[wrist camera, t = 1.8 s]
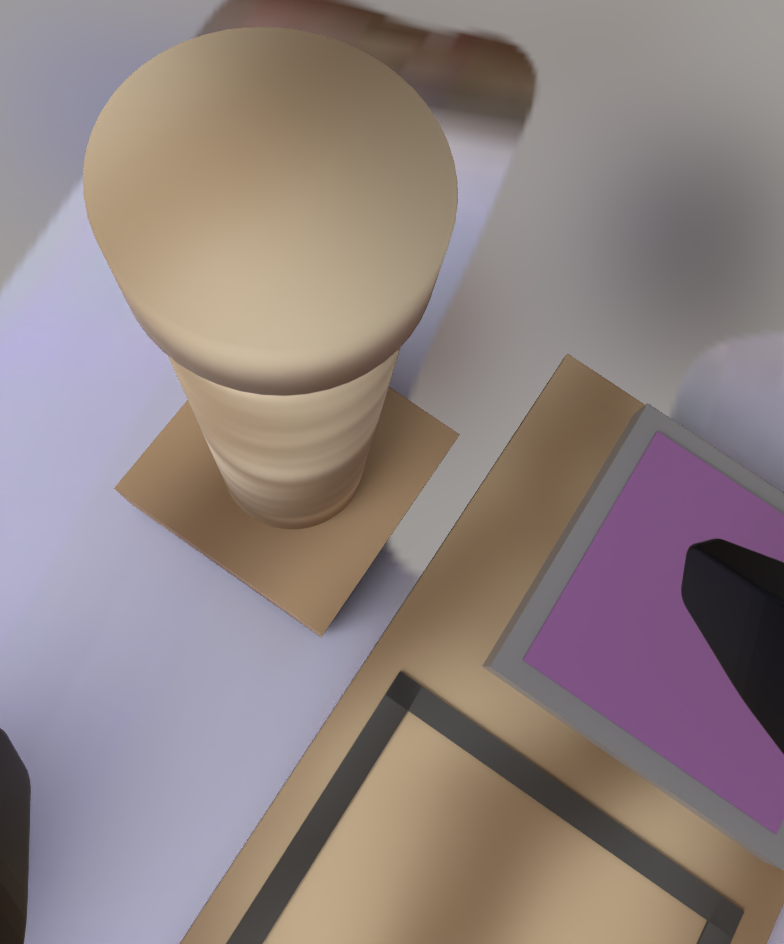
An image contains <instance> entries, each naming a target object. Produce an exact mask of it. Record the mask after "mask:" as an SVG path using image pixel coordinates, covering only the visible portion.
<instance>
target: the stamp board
mask: <svg viewBox="0 0 784 944" xmlns="http://www.w3.org/2000/svg"><path fill="white" fill-rule="evenodd" d="M644 406H645V405H644V404H643V403H641V402H640V401H638V400H637V399H635V398H634V397H632V396H631V395H629V394H628V393H626V392H625V391H623V390H622V389H620V388H619V387H617V386H616V385H614V384H613V383H611V382H610V381H608V380H607V379H605V378H604V377H602V376H601V375H599V374H598V373H596V372H595V371H593V370H591V369H590V368H589V367H587V366H585V365H584V364H582V363H581V362H579V361H578V360H576V359H575V358H573V357H572V356H570V355H569V354H567V355H566V356H565V358H564V359H563V360H562V362H561V363H560V365H559V367H558V368H557V370H556V371H555V372H554V374H553V376H552V377H551V379H550V380H549V382H548V383H547V385H546V386H545V388H544V389H543V391H542V393H541V394H540V395H539V397H538V398H537V400H536V401H535V403H534V404H533V406H532V408H531V409H530V411H529V412H528V414H527V415H526V417H525V418H524V420H523V421H522V423H521V424H520V426H519V427H518V429H517V430H516V432H515V433H514V435H513V436H512V438H511V440H510V441H509V443H508V444H507V446H506V447H505V449H504V450H503V452H502V453H501V455H500V456H499V458H498V460H497V461H496V462H495V464H494V465H493V467H492V468H491V470H490V472H489V473H488V475H487V476H486V478H485V479H484V481H483V482H482V484H481V485H480V487H479V488H478V490H477V491H476V493H475V494H474V496H473V497H472V499H471V501H470V502H469V504H468V505H467V507H466V508H465V510H464V511H463V513H462V514H461V516H460V517H459V519H458V520H457V522H456V523H455V525H454V526H453V528H452V529H451V531H450V532H449V534H448V536H447V537H446V539H445V540H444V542H443V543H442V545H441V546H440V548H439V549H438V551H437V552H436V554H435V556H434V557H433V558H432V560H431V561H430V563H429V565H428V566H427V568H426V569H425V571H424V572H423V574H422V575H421V577H420V578H419V580H418V581H417V583H416V584H415V586H414V587H413V589H412V590H411V592H410V593H409V595H408V596H407V598H406V599H405V601H404V603H403V604H402V606H401V607H400V609H399V610H398V612H397V613H396V615H395V616H394V618H393V619H392V621H391V622H390V624H389V625H388V627H387V628H386V630H385V631H384V633H383V635H382V636H381V638H380V639H379V641H378V642H377V644H376V645H375V647H374V648H373V650H372V651H371V653H370V654H369V656H368V657H367V659H366V660H365V662H364V663H363V665H362V667H361V668H360V670H359V671H358V673H357V674H356V676H355V677H354V679H353V680H352V682H351V683H350V685H349V686H348V688H347V689H346V691H345V692H344V694H343V695H342V697H341V699H340V700H339V702H338V703H337V705H336V706H335V708H334V709H333V711H332V712H331V714H330V715H329V717H328V718H327V720H326V721H325V723H324V724H323V726H322V727H321V729H320V731H319V732H318V734H317V735H316V737H315V738H314V740H313V741H312V743H311V744H310V746H309V747H308V749H307V750H306V752H305V753H304V755H303V756H302V758H301V759H300V761H299V763H298V764H297V766H296V767H295V769H294V770H293V772H292V773H291V775H290V776H289V778H288V779H287V781H286V782H285V784H284V785H283V787H282V788H281V790H280V791H279V793H278V794H277V796H276V798H275V799H274V801H273V802H272V804H271V805H270V807H269V808H268V810H267V811H266V813H265V814H264V816H263V817H262V819H261V820H260V822H259V823H258V825H257V826H256V828H255V830H254V831H253V833H252V834H251V836H250V837H249V839H248V840H247V842H246V843H245V845H244V846H243V848H242V849H241V851H240V852H239V854H238V855H237V857H236V858H235V860H234V862H233V863H232V865H231V866H230V868H229V869H228V871H227V872H226V874H225V875H224V877H223V878H222V880H221V881H220V883H219V884H218V886H217V887H216V889H215V890H214V892H213V894H212V895H211V897H210V898H209V900H208V901H207V903H206V904H205V906H204V907H203V909H202V910H201V912H200V913H199V915H198V916H197V918H196V919H195V921H194V922H193V924H192V926H191V927H190V929H189V930H188V932H187V933H186V935H185V936H184V938H183V939H182V941H181V942H180V944H766V943H767V941H768V939H769V936H770V934H771V932H772V929H773V927H774V925H775V922H776V920H777V917H778V915H779V913H780V910H781V908H782V906H783V903H784V871H783V870H781V869H779V868H777V867H774V866H772V865H770V864H767V863H765V862H763V861H762V860H760V859H759V858H757V857H756V856H754V855H753V854H752V853H750V852H749V851H747V850H746V849H744V848H743V847H741V846H740V845H739V844H737V843H736V842H734V841H733V840H731V839H730V838H729V837H727V836H726V835H724V834H723V833H721V832H720V831H718V830H717V829H716V828H714V827H713V826H711V825H710V824H708V823H707V822H705V821H704V820H703V819H701V818H700V817H698V816H697V815H695V814H694V813H692V812H691V811H690V810H688V809H687V808H685V807H684V806H682V805H681V804H679V803H678V802H677V801H675V800H674V799H672V798H671V797H669V796H668V795H667V794H665V793H664V792H662V791H661V790H659V789H658V788H656V787H655V786H654V785H652V784H651V783H649V782H648V781H646V780H645V779H643V778H642V777H641V776H639V775H638V774H636V773H635V772H633V771H632V770H630V769H629V768H628V767H626V766H625V765H623V764H622V763H620V762H619V761H617V760H616V759H615V758H613V757H612V756H610V755H609V754H607V753H606V752H605V751H603V750H602V749H600V748H599V747H597V746H596V745H594V744H593V743H592V742H590V741H589V740H587V739H586V738H584V737H583V736H581V735H580V734H579V733H577V732H576V731H574V730H573V729H571V728H570V727H568V726H567V725H566V724H564V723H563V722H561V721H560V720H558V719H557V718H555V717H554V716H553V715H551V714H550V713H548V712H547V711H545V710H544V709H542V708H541V707H540V706H538V705H537V704H535V703H534V702H532V701H531V700H530V699H528V698H527V697H525V696H524V695H522V694H521V693H519V692H518V691H517V690H515V689H514V688H512V687H511V686H509V685H508V684H506V683H505V682H504V681H502V680H501V679H499V678H498V677H496V676H495V675H493V674H492V673H491V672H489V671H488V670H486V669H485V668H483V667H482V665H483V664H484V662H485V660H486V659H487V657H488V656H489V654H490V652H491V651H492V649H493V647H494V646H495V644H496V642H497V641H498V639H499V637H500V636H501V634H502V632H503V631H504V629H505V627H506V626H507V624H508V622H509V621H510V619H511V617H512V616H513V614H514V612H515V611H516V609H517V607H518V606H519V604H520V602H521V601H522V599H523V597H524V596H525V594H526V592H527V591H528V589H529V587H530V586H531V584H532V583H533V581H534V579H535V578H536V576H537V574H538V573H539V571H540V569H541V568H542V566H543V564H544V563H545V561H546V559H547V558H548V556H549V554H550V553H551V551H552V549H553V548H554V546H555V544H556V543H557V541H558V539H559V538H560V536H561V534H562V533H563V531H564V529H565V528H566V526H567V524H568V523H569V521H570V519H571V518H572V516H573V515H574V513H575V511H576V510H577V508H578V506H579V505H580V503H581V501H582V500H583V498H584V496H585V495H586V493H587V491H588V490H589V488H590V486H591V485H592V483H593V481H594V480H595V478H596V476H597V475H598V473H599V471H600V470H601V468H602V466H603V465H604V463H605V461H606V460H607V458H608V456H609V455H610V453H611V451H612V450H613V448H614V447H615V445H616V443H617V442H618V440H619V438H620V437H621V435H622V433H623V432H624V430H625V428H626V427H627V425H628V423H629V422H630V420H631V418H632V417H633V415H634V413H636V412H637V411H638V410H640V409H641V408H642V407H644Z"/></svg>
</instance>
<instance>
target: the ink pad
mask: <svg viewBox="0 0 784 944" xmlns="http://www.w3.org/2000/svg"><path fill="white" fill-rule="evenodd" d="M714 538H719V539H723V540H726V541H729V542H731V543H734V544H737V545H739V546H742V547H745V548H747V549H750V550H753V551H755V552H758V553H761V554H763V555H766V556H769V557H771V558H774V559H777V560H779V561H782V562H784V493H782V492H781V491H779V490H778V489H776V488H775V487H773V486H772V485H770V484H769V483H767V482H766V481H764V480H763V479H761V478H760V477H758V476H757V475H755V474H754V473H752V472H751V471H749V470H748V469H746V468H745V467H743V466H742V465H740V464H739V463H737V462H736V461H734V460H733V459H731V458H730V457H728V456H727V455H725V454H724V453H722V452H721V451H719V450H718V449H716V448H715V447H713V446H712V445H710V444H708V443H707V442H705V441H704V440H702V439H701V438H699V437H698V436H696V435H695V434H693V433H692V432H690V431H689V430H687V429H686V428H684V427H683V426H681V425H680V424H678V423H677V422H675V421H674V420H672V419H671V418H669V417H668V416H666V415H665V414H663V413H662V412H660V411H659V410H657V409H656V408H654V407H652V406H651V405H650V404H646V405H645V406H644V407H642V408H641V409H640V410H638V411H637V412H636V413H634V415H633V417H632V418H631V420H630V422H629V423H628V425H627V427H626V428H625V430H624V432H623V433H622V435H621V437H620V438H619V440H618V442H617V443H616V445H615V447H614V448H613V450H612V451H611V453H610V455H609V456H608V458H607V460H606V461H605V463H604V465H603V466H602V468H601V470H600V471H599V473H598V475H597V476H596V478H595V480H594V481H593V483H592V485H591V486H590V488H589V490H588V491H587V493H586V495H585V496H584V498H583V500H582V501H581V503H580V505H579V506H578V508H577V510H576V511H575V513H574V515H573V516H572V518H571V519H570V521H569V523H568V524H567V526H566V528H565V529H564V531H563V533H562V534H561V536H560V538H559V539H558V541H557V543H556V544H555V546H554V548H553V549H552V551H551V553H550V554H549V556H548V558H547V559H546V561H545V563H544V564H543V566H542V568H541V569H540V571H539V573H538V574H537V576H536V578H535V579H534V581H533V583H532V584H531V586H530V587H529V589H528V591H527V592H526V594H525V596H524V597H523V599H522V601H521V602H520V604H519V606H518V607H517V609H516V611H515V612H514V614H513V616H512V617H511V619H510V621H509V622H508V624H507V626H506V627H505V629H504V631H503V632H502V634H501V636H500V637H499V639H498V641H497V642H496V644H495V646H494V647H493V649H492V651H491V652H490V654H489V656H488V657H487V659H486V660H485V662H484V664H483V665H482V667H483V668H485V669H486V670H488V671H489V672H491V673H492V674H493V675H495V676H496V677H498V678H499V679H501V680H502V681H504V682H505V683H506V684H508V685H509V686H511V687H512V688H514V689H515V690H517V691H518V692H519V693H521V694H522V695H524V696H525V697H527V698H528V699H530V700H531V701H532V702H534V703H535V704H537V705H538V706H540V707H541V708H542V709H544V710H545V711H547V712H548V713H550V714H551V715H553V716H554V717H555V718H557V719H558V720H560V721H561V722H563V723H564V724H566V725H567V726H568V727H570V728H571V729H573V730H574V731H576V732H577V733H579V734H580V735H581V736H583V737H584V738H586V739H587V740H589V741H590V742H592V743H593V744H594V745H596V746H597V747H599V748H600V749H602V750H603V751H605V752H606V753H607V754H609V755H610V756H612V757H613V758H615V759H616V760H617V761H619V762H620V763H622V764H623V765H625V766H626V767H628V768H629V769H630V770H632V771H633V772H635V773H636V774H638V775H639V776H641V777H642V778H643V779H645V780H646V781H648V782H649V783H651V784H652V785H654V786H655V787H656V788H658V789H659V790H661V791H662V792H664V793H665V794H667V795H668V796H669V797H671V798H672V799H674V800H675V801H677V802H678V803H679V804H681V805H682V806H684V807H685V808H687V809H688V810H690V811H691V812H692V813H694V814H695V815H697V816H698V817H700V818H701V819H703V820H704V821H705V822H707V823H708V824H710V825H711V826H713V827H714V828H716V829H717V830H718V831H720V832H721V833H723V834H724V835H726V836H727V837H729V838H730V839H731V840H733V841H734V842H736V843H737V844H739V845H740V846H741V847H743V848H744V849H746V850H747V851H749V852H750V853H752V854H753V855H754V856H756V857H757V858H759V859H760V860H762V861H763V862H765V863H767V864H770V865H772V866H774V867H777V868H779V869H781V870H783V871H784V755H783V753H782V752H781V751H780V749H779V748H778V747H777V745H776V744H775V743H774V741H773V740H772V739H771V737H770V736H769V735H768V733H767V732H766V731H765V729H764V728H763V727H762V725H761V724H760V723H759V721H758V720H757V719H756V717H755V716H754V715H753V713H752V712H751V711H750V709H749V708H748V707H747V705H746V704H745V702H744V701H743V700H742V698H741V697H740V695H739V694H738V692H737V690H736V689H735V687H734V686H733V684H732V683H731V681H730V679H729V678H728V676H727V675H726V673H725V671H724V670H723V668H722V666H721V665H720V663H719V661H718V660H717V658H716V656H715V655H714V653H713V651H712V650H711V648H710V647H709V645H708V643H707V642H706V640H705V638H704V637H703V635H702V633H701V632H700V630H699V628H698V627H697V625H696V623H695V622H694V620H693V619H692V617H691V615H690V614H689V612H688V610H687V609H686V607H685V605H684V602H683V600H682V596H681V585H682V578H683V572H684V565H685V558H686V553H687V550H688V548H689V547H690V546H691V545H692V544H694V543H698V542H702V541H706V540H710V539H714Z"/></svg>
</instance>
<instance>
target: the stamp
mask: <svg viewBox="0 0 784 944" xmlns="http://www.w3.org/2000/svg"><path fill="white" fill-rule="evenodd" d="M83 191H84V200H85V205H86V210H87V216H88V219H89V222H90V225H91V228H92V230H93V233H94V236H95V239H96V241H97V243H98V245H99V247H100V249H101V251H102V253H103V255H104V257H105V259H106V261H107V263H108V265H109V267H110V269H111V271H112V273H113V275H114V277H115V279H116V281H117V283H118V285H119V287H120V289H121V291H122V293H123V295H124V297H125V299H126V301H127V303H128V305H129V307H130V309H131V311H132V313H133V314H134V316H135V318H136V320H137V321H138V323H139V324H140V326H141V327H142V328H143V330H144V331H145V332H146V334H147V335H148V336H149V338H150V339H151V340H152V341H153V342H154V343H155V344H156V345H157V346H158V347H159V348H160V349H161V350H162V351H163V352H164V353H166V354H167V355H168V357H169V359H170V361H171V364H172V366H173V368H174V370H175V373H176V375H177V377H178V379H179V381H180V384H181V386H182V388H183V390H184V393H185V395H186V397H187V399H188V400H187V401H186V403H185V404H184V405H183V406H182V407H181V409H180V410H179V411H178V412H177V413H176V415H175V416H174V417H173V418H172V419H171V421H170V422H169V423H168V424H167V425H166V427H165V428H164V429H163V430H162V431H161V433H160V434H159V435H158V436H157V437H156V439H155V440H154V441H153V442H152V443H151V445H150V446H149V447H148V448H147V449H146V451H145V452H144V453H143V454H142V455H141V457H140V458H139V459H138V460H137V461H136V463H135V464H134V465H133V466H132V467H131V469H130V470H129V471H128V472H127V473H126V475H125V476H124V477H123V478H122V479H121V481H120V482H119V483H118V484H117V485H116V487H115V488H114V489H115V490H116V491H118V492H119V493H120V494H121V495H122V496H123V497H124V498H125V499H126V500H127V501H129V502H130V503H131V504H132V505H133V506H134V507H136V508H137V509H139V510H140V511H142V512H143V513H144V514H146V515H147V516H149V517H150V518H152V519H153V520H154V521H156V522H157V523H159V524H160V525H162V526H163V527H164V528H166V529H167V530H169V531H170V532H172V533H173V534H174V535H176V536H177V537H179V538H180V539H182V540H183V541H184V542H186V543H187V544H189V545H190V546H192V547H193V548H194V549H196V550H197V551H199V552H200V553H202V554H203V555H204V556H206V557H207V558H209V559H210V560H212V561H213V562H214V563H216V564H217V565H219V566H220V567H222V568H223V569H224V570H226V571H227V572H229V573H230V574H232V575H233V576H234V577H236V578H237V579H239V580H240V581H242V582H243V583H244V584H246V585H247V586H249V587H250V588H251V589H253V590H254V591H256V592H257V593H259V594H260V595H261V596H263V597H264V598H266V599H267V600H269V601H270V602H271V603H273V604H274V605H276V606H277V607H279V608H280V609H281V610H283V611H284V612H286V613H287V614H289V615H290V616H291V617H293V618H294V619H296V620H297V621H299V622H300V623H301V624H303V625H304V626H306V627H307V628H309V629H310V630H311V631H313V632H314V633H316V634H317V635H319V636H320V637H322V635H323V634H324V632H325V631H326V629H327V628H328V627H329V625H330V624H331V622H332V621H333V619H334V618H335V616H336V615H337V613H338V612H339V610H340V609H341V608H342V606H343V605H344V603H345V602H346V600H347V599H348V597H349V596H350V594H351V593H352V591H353V590H354V589H355V587H356V586H357V584H358V583H359V581H360V580H361V578H362V577H363V575H364V574H365V572H366V571H367V569H368V568H369V567H370V565H371V564H372V562H373V561H374V559H375V558H376V556H377V555H378V553H379V552H380V550H381V549H382V548H383V546H384V545H385V543H386V542H387V540H388V539H389V537H390V536H391V534H392V533H393V531H394V530H395V528H396V527H397V525H398V524H399V523H400V521H401V520H402V518H403V517H404V515H405V514H406V512H407V511H408V509H409V508H410V506H411V505H412V504H413V502H414V501H415V499H416V498H417V496H418V495H419V493H420V492H421V490H422V489H423V488H424V486H425V485H426V483H427V482H428V480H429V479H430V477H431V476H432V474H433V473H434V471H435V470H436V468H437V467H438V465H439V464H440V463H441V461H442V460H443V458H444V457H445V455H446V454H447V452H448V451H449V449H450V448H451V446H452V445H453V443H454V442H455V440H456V439H457V437H458V436H459V434H458V433H457V432H455V431H454V430H452V429H451V428H449V427H448V426H446V425H445V424H443V423H442V422H440V421H439V420H437V419H435V418H434V417H433V416H431V415H430V414H428V413H427V412H425V411H424V410H423V409H421V408H419V407H418V406H417V405H415V404H414V403H412V402H411V401H409V400H408V399H406V398H405V397H403V396H402V395H400V394H399V393H397V392H396V391H394V390H393V389H391V388H390V387H389V384H390V380H391V377H392V374H393V370H394V367H395V364H396V360H397V357H398V354H399V350H400V347H401V346H402V345H403V344H404V342H405V341H406V340H407V339H408V338H409V337H410V336H411V334H412V333H413V331H414V330H415V328H416V326H417V325H418V323H419V322H420V320H421V319H422V316H423V314H424V312H425V310H426V307H427V305H428V303H429V300H430V298H431V295H432V292H433V289H434V286H435V283H436V280H437V277H438V274H439V271H440V268H441V265H442V262H443V260H444V257H445V254H446V251H447V248H448V245H449V242H450V239H451V235H452V231H453V228H454V224H455V220H456V212H457V204H458V187H457V176H456V170H455V164H454V160H453V157H452V153H451V150H450V147H449V144H448V141H447V139H446V137H445V135H444V133H443V131H442V129H441V127H440V125H439V122H438V121H437V119H436V118H435V116H434V115H433V113H432V112H431V110H430V109H429V107H428V106H427V104H426V103H425V102H424V101H423V100H422V98H421V97H420V96H419V95H418V94H417V93H416V91H415V90H414V89H413V88H412V87H411V86H410V85H409V84H408V83H406V82H405V81H404V80H403V79H402V78H401V77H400V76H399V75H398V74H397V73H395V72H394V71H393V70H391V69H390V68H388V67H387V66H386V65H384V64H383V63H382V62H380V61H379V60H377V59H375V58H373V57H372V56H370V55H368V54H366V53H365V52H363V51H361V50H359V49H357V48H355V47H352V46H350V45H348V44H346V43H343V42H341V41H339V40H335V39H332V38H329V37H326V36H323V35H320V34H316V33H311V32H306V31H301V30H296V29H287V28H277V27H246V28H237V29H228V30H223V31H219V32H214V33H210V34H205V35H202V36H199V37H196V38H193V39H191V40H188V41H185V42H182V43H180V44H178V45H176V46H174V47H172V48H170V49H168V50H166V51H164V52H162V53H160V54H159V55H157V56H156V57H154V58H153V59H151V60H149V61H148V62H146V63H145V64H143V65H142V66H141V67H140V68H139V69H138V70H136V71H135V72H134V73H133V74H132V75H130V76H129V77H128V78H127V79H126V80H125V81H124V82H123V84H122V85H121V86H120V87H119V88H118V89H117V90H116V91H115V93H114V94H113V95H112V96H111V98H110V99H109V101H108V102H107V104H106V105H105V107H104V108H103V110H102V111H101V113H100V115H99V117H98V119H97V122H96V124H95V126H94V128H93V130H92V133H91V136H90V139H89V143H88V146H87V150H86V154H85V162H84V169H83Z"/></svg>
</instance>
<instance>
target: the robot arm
mask: <svg viewBox="0 0 784 944" xmlns="http://www.w3.org/2000/svg"><path fill="white" fill-rule="evenodd" d="M681 596H682V600H683V602H684V605H685V607H686V609H687V610H688V612H689V614H690V615H691V617H692V619H693V620H694V622H695V623H696V625H697V627H698V628H699V630H700V632H701V633H702V635H703V637H704V638H705V640H706V642H707V643H708V645H709V647H710V648H711V650H712V651H713V653H714V655H715V656H716V658H717V660H718V661H719V663H720V665H721V666H722V668H723V670H724V671H725V673H726V675H727V676H728V678H729V679H730V681H731V683H732V684H733V686H734V687H735V689H736V690H737V692H738V694H739V695H740V697H741V698H742V700H743V701H744V702H745V704H746V705H747V707H748V708H749V709H750V711H751V712H752V713H753V715H754V716H755V717H756V719H757V720H758V721H759V723H760V724H761V725H762V727H763V728H764V729H765V731H766V732H767V733H768V735H769V736H770V737H771V739H772V740H773V741H774V743H775V744H776V745H777V747H778V748H779V749H780V751H781V752H782V753H783V755H784V562H782V561H779V560H777V559H774V558H771V557H769V556H766V555H763V554H761V553H758V552H755V551H753V550H750V549H747V548H745V547H742V546H739V545H737V544H734V543H731V542H729V541H726V540H723V539H719V538H714V539H710V540H706V541H702V542H698V543H694V544H692V545H691V546H690V547H689V548H688V550H687V553H686V558H685V565H684V572H683V578H682V585H681ZM30 796H31V786H30V779H29V774H28V771H27V769H26V767H25V765H24V763H23V762H22V760H21V758H20V757H19V755H18V753H17V751H16V750H15V748H14V746H13V744H12V743H11V741H10V739H9V738H8V736H7V734H6V733H5V732H4V731H3V730H2V729H1V728H0V944H24V937H25V929H26V920H27V902H28V870H29V833H30Z"/></svg>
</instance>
